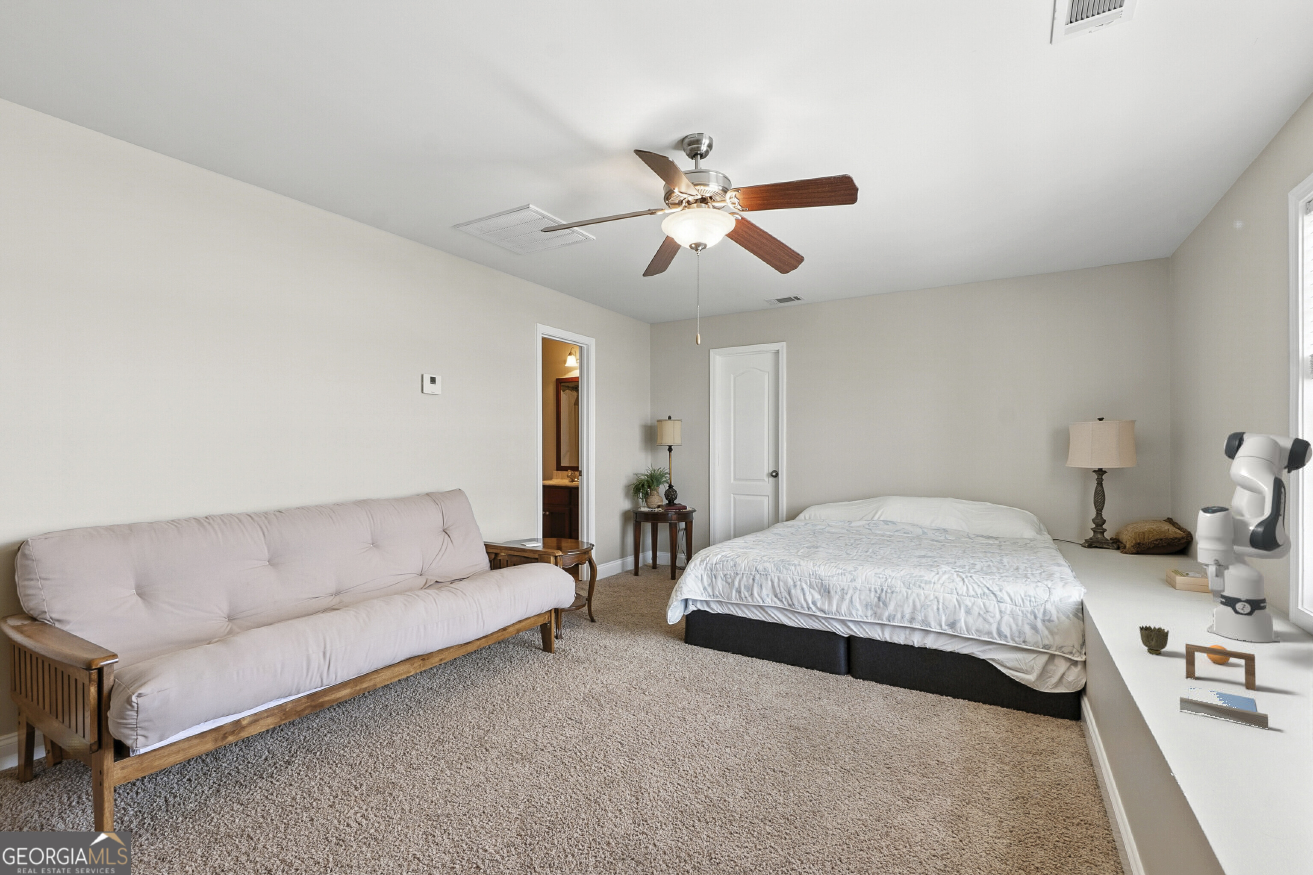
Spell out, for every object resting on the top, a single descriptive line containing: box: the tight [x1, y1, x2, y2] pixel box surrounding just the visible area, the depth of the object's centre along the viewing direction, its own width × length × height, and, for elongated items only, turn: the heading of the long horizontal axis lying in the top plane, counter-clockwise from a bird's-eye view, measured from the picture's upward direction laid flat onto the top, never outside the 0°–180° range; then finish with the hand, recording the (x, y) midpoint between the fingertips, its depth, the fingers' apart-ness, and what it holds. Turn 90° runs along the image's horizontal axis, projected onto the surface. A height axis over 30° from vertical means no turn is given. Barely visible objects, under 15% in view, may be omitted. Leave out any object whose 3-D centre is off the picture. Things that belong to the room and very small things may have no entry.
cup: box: [1138, 625, 1170, 656], centre depth 200 cm, size 8×7×8 cm
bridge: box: [1184, 643, 1257, 692], centre depth 176 cm, size 3×14×9 cm, turn 49°
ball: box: [1206, 644, 1231, 665], centre depth 191 cm, size 6×6×6 cm
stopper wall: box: [1179, 696, 1269, 729], centre depth 153 cm, size 2×16×3 cm, turn 49°
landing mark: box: [1190, 687, 1257, 712], centre depth 164 cm, size 13×13×1 cm
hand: (1216, 601), depth 198 cm, fingers closed
